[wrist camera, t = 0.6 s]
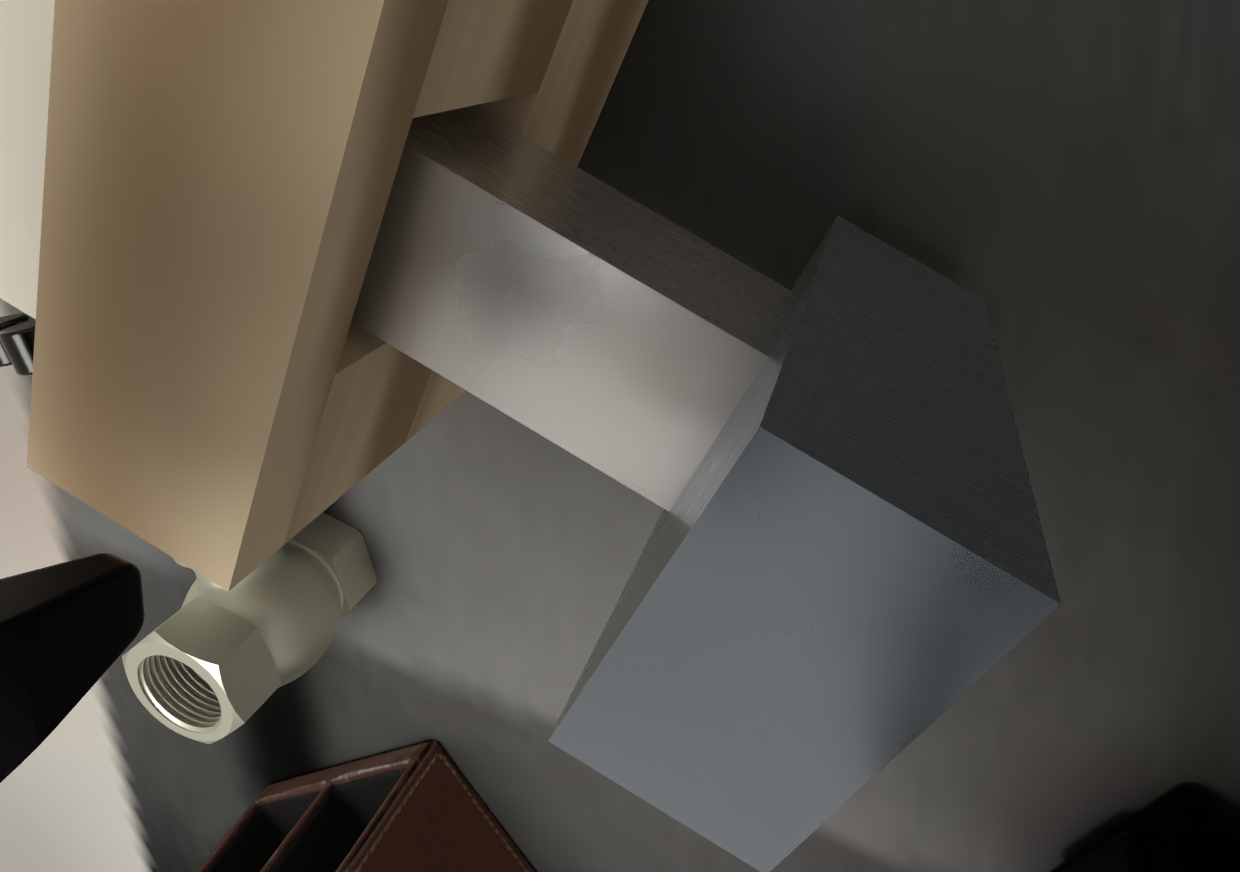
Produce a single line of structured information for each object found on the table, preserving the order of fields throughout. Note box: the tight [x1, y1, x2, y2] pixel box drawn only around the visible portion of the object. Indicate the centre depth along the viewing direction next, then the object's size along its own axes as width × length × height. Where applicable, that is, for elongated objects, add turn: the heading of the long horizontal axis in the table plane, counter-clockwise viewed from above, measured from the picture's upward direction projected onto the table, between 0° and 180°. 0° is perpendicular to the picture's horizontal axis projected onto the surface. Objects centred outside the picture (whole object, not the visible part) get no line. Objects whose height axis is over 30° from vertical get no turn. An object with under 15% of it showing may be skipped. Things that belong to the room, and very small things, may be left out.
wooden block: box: [27, 0, 649, 592], centre depth 15 cm, size 4×12×10 cm, turn 155°
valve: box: [0, 313, 377, 744], centre depth 23 cm, size 7×7×12 cm
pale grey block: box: [351, 106, 1061, 872], centre depth 13 cm, size 17×5×9 cm, turn 65°
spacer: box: [0, 0, 55, 319], centre depth 14 cm, size 3×7×6 cm, turn 155°
